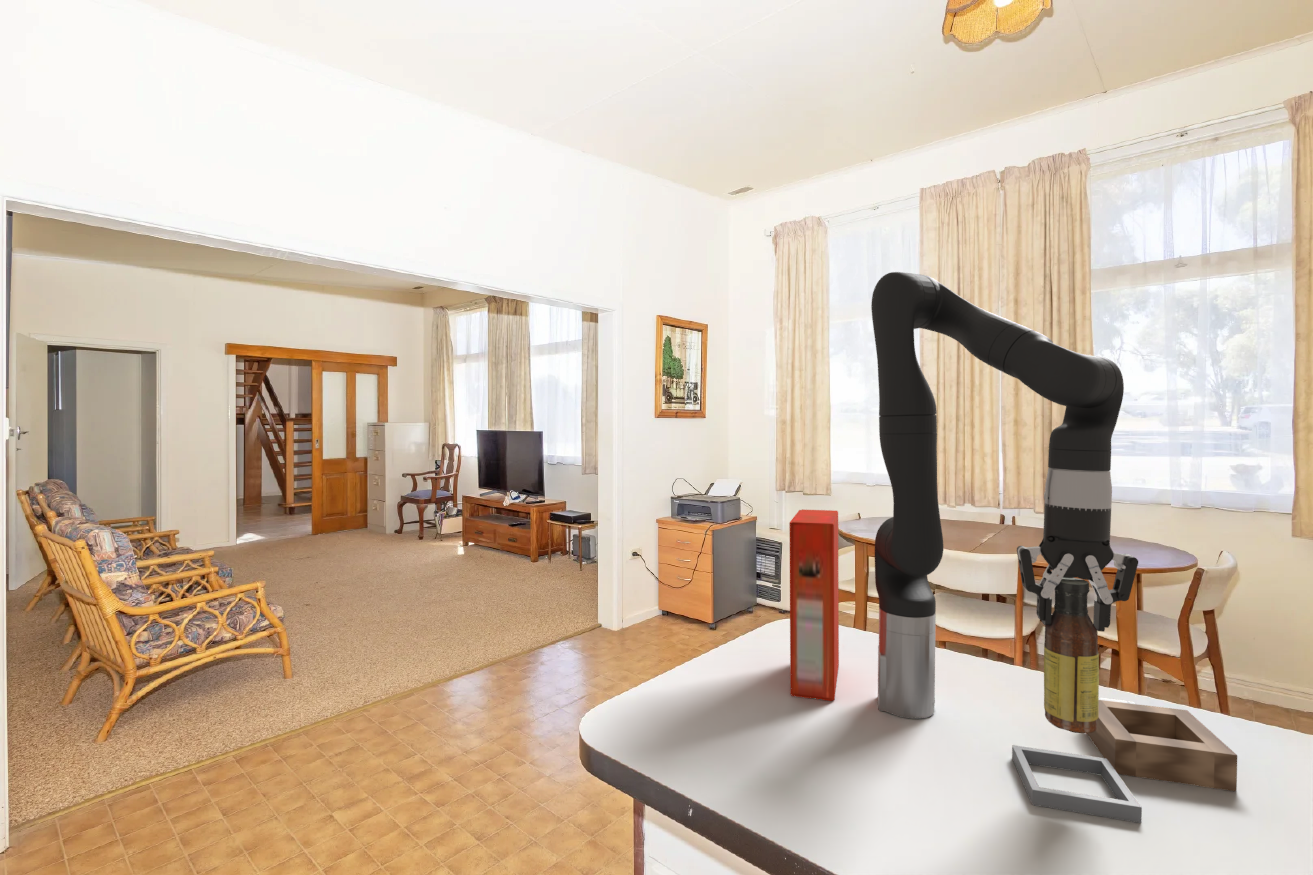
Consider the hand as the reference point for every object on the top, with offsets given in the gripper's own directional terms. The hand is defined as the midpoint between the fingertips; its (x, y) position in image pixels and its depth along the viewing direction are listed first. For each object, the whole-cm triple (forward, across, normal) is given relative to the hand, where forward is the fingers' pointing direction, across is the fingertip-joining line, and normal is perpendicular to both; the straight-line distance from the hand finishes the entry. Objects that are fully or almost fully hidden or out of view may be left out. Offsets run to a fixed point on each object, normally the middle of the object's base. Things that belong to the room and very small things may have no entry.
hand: (1072, 626), depth 86 cm
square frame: (+22, +1, 0) cm, 22 cm away
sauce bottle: (+14, 0, 0) cm, 14 cm away
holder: (+22, +14, +14) cm, 30 cm away
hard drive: (+23, +12, +28) cm, 38 cm away
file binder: (+23, -36, +26) cm, 50 cm away
